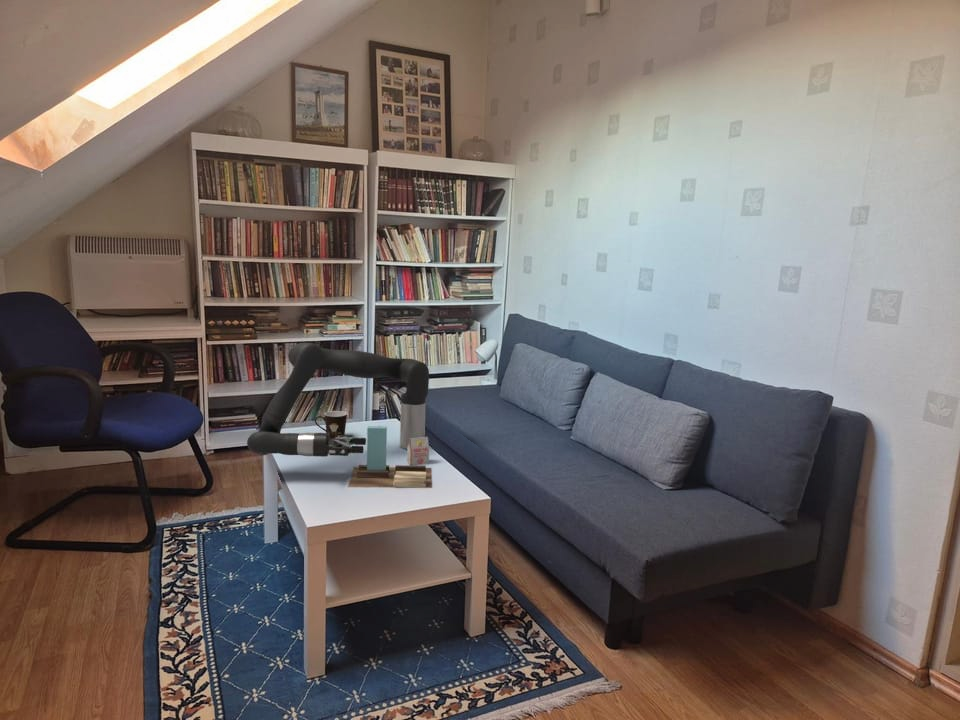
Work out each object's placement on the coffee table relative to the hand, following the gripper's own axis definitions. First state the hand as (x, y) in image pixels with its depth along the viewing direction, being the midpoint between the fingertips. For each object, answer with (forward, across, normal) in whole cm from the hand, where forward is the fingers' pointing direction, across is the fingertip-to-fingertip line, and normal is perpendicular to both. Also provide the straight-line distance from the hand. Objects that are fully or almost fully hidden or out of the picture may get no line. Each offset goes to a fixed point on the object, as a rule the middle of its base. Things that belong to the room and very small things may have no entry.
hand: (364, 445), depth 204 cm
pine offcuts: (+15, -8, +10) cm, 20 cm away
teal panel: (+4, 0, +10) cm, 11 cm away
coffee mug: (-16, +42, +11) cm, 46 cm away
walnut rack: (+9, -2, +11) cm, 14 cm away
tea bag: (+17, +12, +11) cm, 24 cm away
